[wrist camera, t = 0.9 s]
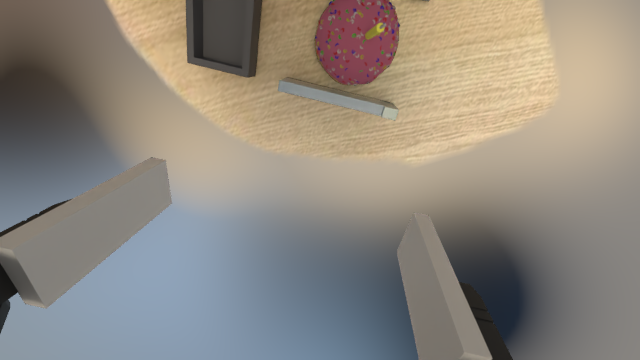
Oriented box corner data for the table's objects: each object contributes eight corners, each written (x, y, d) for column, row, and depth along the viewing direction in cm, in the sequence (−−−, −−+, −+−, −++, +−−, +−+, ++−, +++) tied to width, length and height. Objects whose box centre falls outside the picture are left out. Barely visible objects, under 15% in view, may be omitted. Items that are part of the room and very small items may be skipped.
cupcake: (381, -15, 27) (401, -62, 16) (400, 65, 30) (427, 70, 19) (309, 20, 29) (284, 0, 18) (334, 92, 32) (325, 110, 22)
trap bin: (197, -65, 27) (183, -76, 24) (266, -48, 27) (258, -58, 24) (198, 62, 32) (187, 62, 30) (255, 76, 32) (248, 77, 30)
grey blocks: (304, -44, 26) (296, -62, 22) (432, -13, 26) (447, -25, 22) (286, 87, 33) (276, 91, 28) (389, 112, 33) (395, 120, 28)
